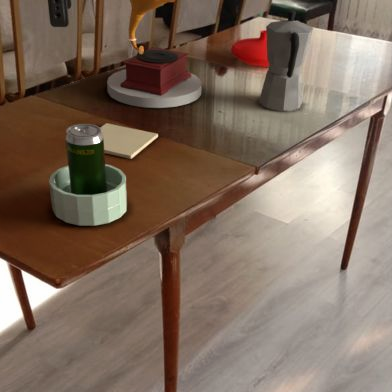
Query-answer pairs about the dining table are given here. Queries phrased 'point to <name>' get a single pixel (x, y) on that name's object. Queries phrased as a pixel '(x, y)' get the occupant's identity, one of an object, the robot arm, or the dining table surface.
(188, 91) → the gramophone
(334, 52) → the dining table surface
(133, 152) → the coaster
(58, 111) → the dining table surface
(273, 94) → the coffeepot
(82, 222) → the bowl
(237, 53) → the red disc with nozzle
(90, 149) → the beer can
